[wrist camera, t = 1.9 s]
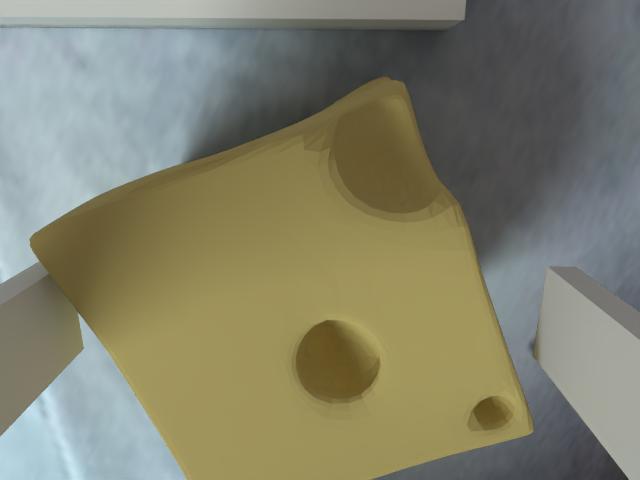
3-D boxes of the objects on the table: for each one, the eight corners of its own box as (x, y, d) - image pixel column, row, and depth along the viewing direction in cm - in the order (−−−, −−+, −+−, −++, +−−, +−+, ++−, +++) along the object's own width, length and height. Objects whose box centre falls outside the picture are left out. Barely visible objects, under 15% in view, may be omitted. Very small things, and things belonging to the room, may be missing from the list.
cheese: (381, 76, 19) (436, 52, 10) (457, 301, 22) (559, 456, 12) (156, 169, 20) (4, 230, 11) (256, 371, 23) (206, 562, 14)
